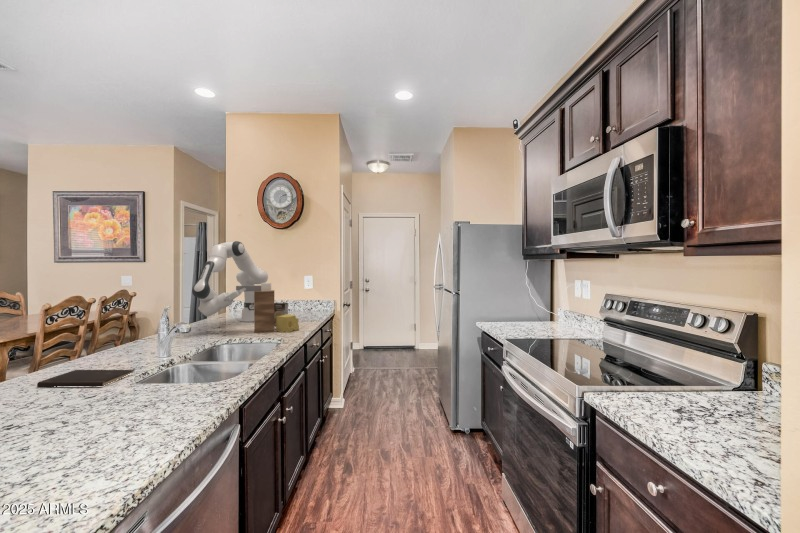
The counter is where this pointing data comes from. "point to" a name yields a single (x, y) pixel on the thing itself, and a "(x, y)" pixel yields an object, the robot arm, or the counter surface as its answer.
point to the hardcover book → (85, 378)
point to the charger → (256, 287)
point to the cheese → (287, 323)
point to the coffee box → (280, 310)
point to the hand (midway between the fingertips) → (246, 288)
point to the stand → (263, 311)
